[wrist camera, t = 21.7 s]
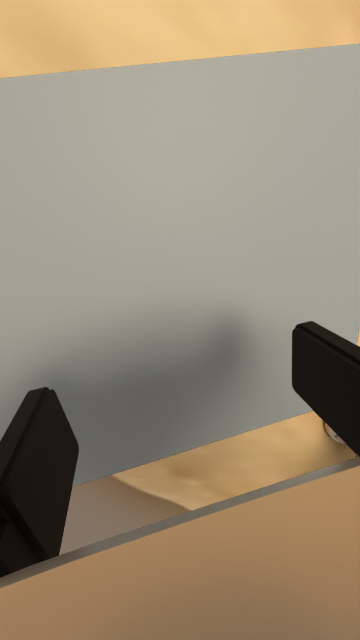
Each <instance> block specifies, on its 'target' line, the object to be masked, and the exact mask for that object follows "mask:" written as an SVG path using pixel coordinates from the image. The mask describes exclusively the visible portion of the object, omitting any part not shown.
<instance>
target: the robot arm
mask: <svg viewBox="0 0 360 640" xmlns="http://www.w3.org/2000/svg"><path fill="white" fill-rule="evenodd" d="M292 387H293V389H294V391H295V392H296V393H297V394H298V395H299V396H300V397H301V398H302V399H303V400H304V401H305V402H306V403H307V404H308V405H309V407H310V408H311V409H312V410H313V411H314V412H315V413H316V414H317V415H318V416H319V417H320V418H321V419H322V420H323V421H324V422H325V428H326V431H327V433H328V434H329V435H330V436H331V437H332V438H333V439H334V440H335V441H336V442H338V443H341V444H347V445H348V446H349V447H350V448H351V449H352V450H353V451H354V452H355V453H356V458H354V459H351V460H348V461H345V462H341V463H338V464H335V465H332V466H329V467H326V468H323V469H319V470H316V471H313V472H310V473H307V474H304V475H301V476H297V477H294V478H291V479H288V480H285V481H282V482H279V483H276V484H273V485H270V486H267V487H263V488H260V489H257V490H254V491H251V492H248V493H245V494H242V495H239V496H236V497H233V498H230V499H227V500H223V501H220V502H217V503H214V504H211V505H208V506H205V507H202V508H199V509H196V510H193V511H190V512H187V513H184V514H181V515H178V516H175V517H172V518H169V519H166V520H163V521H160V522H157V523H154V524H151V525H148V526H145V527H142V528H139V529H136V530H133V531H130V532H126V533H123V534H121V535H117V536H114V537H111V538H109V539H105V540H103V541H100V542H96V543H94V544H91V545H88V546H85V547H82V548H79V549H76V550H74V551H71V552H68V553H65V554H62V555H60V556H59V552H60V547H61V542H62V536H63V532H64V526H65V521H66V516H67V511H68V506H69V501H70V496H71V491H72V486H73V480H74V475H75V470H76V465H77V460H78V455H79V445H78V442H77V440H76V437H75V435H74V433H73V431H72V428H71V426H70V424H69V421H68V419H67V417H66V415H65V412H64V410H63V408H62V406H61V403H60V401H59V399H58V397H57V394H56V392H55V391H54V390H53V389H51V390H49V388H48V387H42V388H38V389H34V390H30V391H28V393H27V394H26V396H25V398H24V399H23V401H22V403H21V405H20V407H19V408H18V410H17V412H16V414H15V416H14V417H13V419H12V421H11V423H10V425H9V426H8V428H7V430H6V432H5V433H4V435H3V437H2V439H1V441H0V640H360V347H359V346H357V345H355V344H354V343H352V342H350V341H348V340H346V339H344V338H343V337H341V336H339V335H337V334H335V333H334V332H332V331H330V330H328V329H326V328H324V327H323V326H321V325H319V324H317V323H315V322H313V321H308V322H304V323H300V324H297V325H296V327H295V329H293V331H292Z"/></svg>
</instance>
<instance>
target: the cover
mask: <svg viewBox="0 0 360 640" xmlns="http://www.w3.org/2000/svg"><path fill="white" fill-rule="evenodd" d="M308 321H313V322H315V323H317V324H319V325H321V326H323V327H324V328H326V329H328V330H330V331H332V332H334V333H335V334H337V335H339V336H341V337H343V338H344V339H346V340H348V341H350V342H352V343H354V344H355V345H357V341H358V334H359V327H360V44H350V45H340V46H330V47H319V48H309V49H299V50H288V51H278V52H267V53H257V54H247V55H236V56H226V57H216V58H205V59H195V60H184V61H174V62H164V63H153V64H143V65H132V66H122V67H112V68H101V69H91V70H81V71H70V72H60V73H49V74H39V75H29V76H18V77H8V78H0V441H1V439H2V437H3V435H4V433H5V432H6V430H7V428H8V426H9V425H10V423H11V421H12V419H13V417H14V416H15V414H16V412H17V410H18V408H19V407H20V405H21V403H22V401H23V399H24V398H25V396H26V394H27V393H28V391H30V390H34V389H38V388H42V387H48V388H49V390H51V389H53V390H54V391H55V392H56V394H57V397H58V399H59V401H60V403H61V406H62V408H63V410H64V412H65V415H66V417H67V419H68V421H69V424H70V426H71V428H72V431H73V433H74V435H75V437H76V440H77V442H78V445H79V455H78V460H77V465H76V470H75V475H74V480H73V486H72V487H74V486H77V485H81V484H84V483H86V482H90V481H93V480H96V479H99V478H103V477H106V476H109V475H112V474H115V473H118V472H122V471H125V470H128V469H131V468H134V467H137V466H140V465H144V464H147V463H150V462H153V461H156V460H159V459H163V458H166V457H169V456H172V455H175V454H178V453H181V452H185V451H188V450H191V449H194V448H197V447H200V446H204V445H207V444H210V443H213V442H216V441H219V440H222V439H226V438H229V437H232V436H235V435H238V434H241V433H245V432H248V431H251V430H254V429H257V428H260V427H263V426H267V425H270V424H273V423H276V422H279V421H282V420H285V419H289V418H292V417H295V416H298V415H301V414H304V413H308V412H311V411H313V410H312V409H311V408H310V407H309V405H308V404H307V403H306V402H305V401H304V400H303V399H302V398H301V397H300V396H299V395H298V394H297V393H296V392H295V391H294V389H293V387H292V331H293V329H295V327H296V325H297V324H300V323H304V322H308Z"/></svg>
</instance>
